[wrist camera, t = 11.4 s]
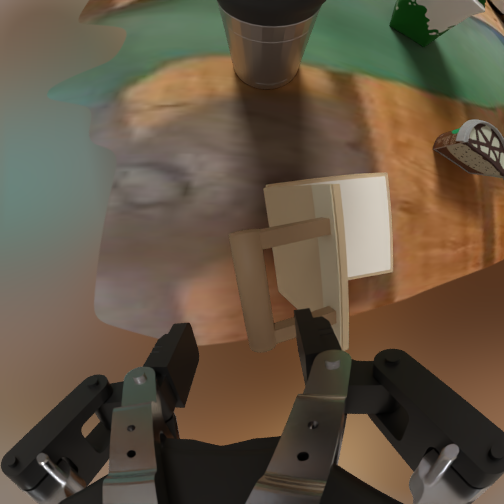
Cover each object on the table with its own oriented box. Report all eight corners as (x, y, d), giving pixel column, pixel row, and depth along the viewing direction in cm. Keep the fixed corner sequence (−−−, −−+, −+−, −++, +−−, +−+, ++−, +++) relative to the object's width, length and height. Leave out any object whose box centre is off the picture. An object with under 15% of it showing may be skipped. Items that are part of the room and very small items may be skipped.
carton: (265, 184, 36) (267, 185, 28) (363, 173, 35) (387, 172, 28) (277, 269, 39) (282, 291, 31) (369, 254, 38) (393, 271, 31)
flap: (267, 187, 28) (202, 198, 27) (339, 183, 15) (226, 201, 14) (282, 290, 31) (223, 305, 30) (348, 348, 18) (259, 380, 17)
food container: (479, 146, 33) (516, 145, 23) (474, 177, 34) (512, 180, 25) (431, 112, 32) (469, 101, 23) (425, 145, 34) (464, 139, 24)
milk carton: (427, 53, 29) (497, 12, 10) (382, 26, 29) (439, -35, 9) (431, 25, 27) (491, -18, 8) (390, -1, 26) (438, -58, 7)
